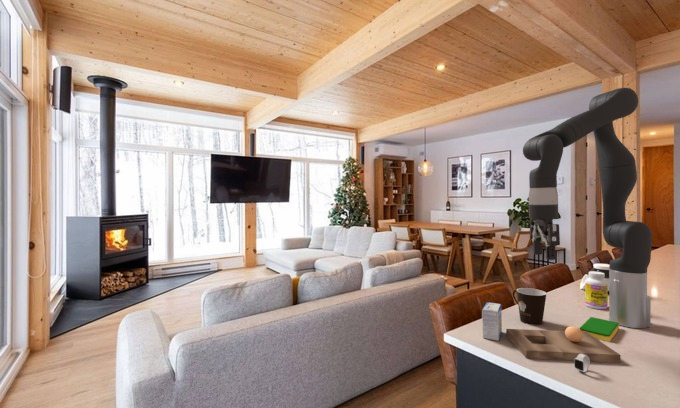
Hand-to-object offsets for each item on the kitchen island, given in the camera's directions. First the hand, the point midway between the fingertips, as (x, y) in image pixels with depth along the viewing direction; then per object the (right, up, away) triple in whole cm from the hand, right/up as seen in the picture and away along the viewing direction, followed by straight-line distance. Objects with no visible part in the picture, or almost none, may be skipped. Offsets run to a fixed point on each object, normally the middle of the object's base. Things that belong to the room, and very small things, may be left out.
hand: (544, 256), depth 99 cm
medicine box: (-15, -24, 0) cm, 28 cm away
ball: (+2, -20, -9) cm, 22 cm away
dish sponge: (+18, -24, +2) cm, 30 cm away
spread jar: (+50, -22, +43) cm, 70 cm away
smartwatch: (-4, -24, -21) cm, 32 cm away
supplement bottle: (+34, -23, +24) cm, 47 cm away
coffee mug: (+2, -23, +12) cm, 26 cm away
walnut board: (-2, -24, -9) cm, 25 cm away
